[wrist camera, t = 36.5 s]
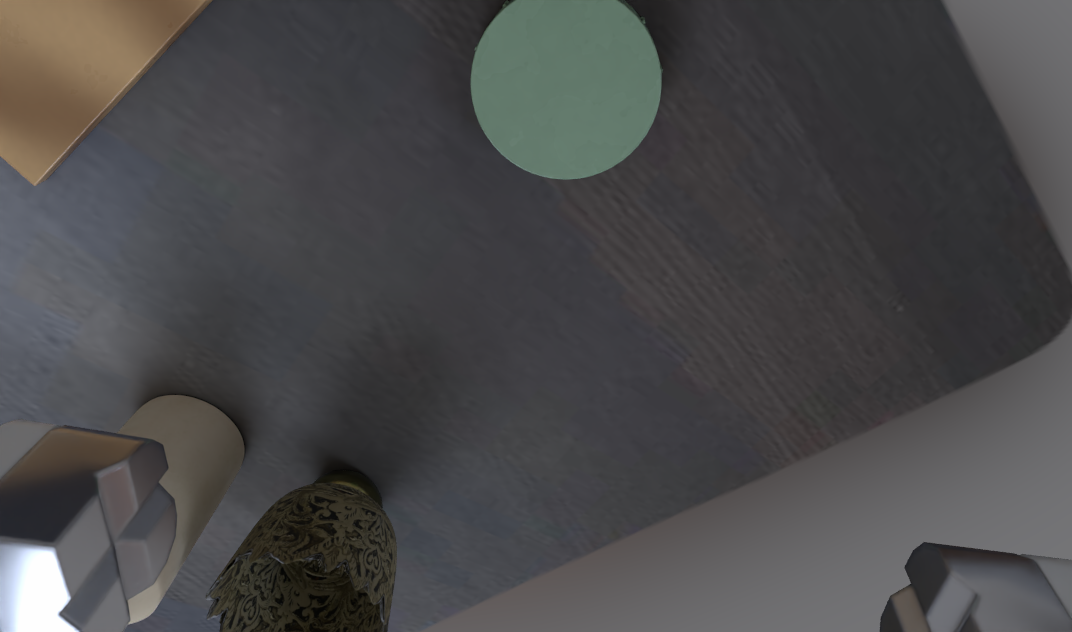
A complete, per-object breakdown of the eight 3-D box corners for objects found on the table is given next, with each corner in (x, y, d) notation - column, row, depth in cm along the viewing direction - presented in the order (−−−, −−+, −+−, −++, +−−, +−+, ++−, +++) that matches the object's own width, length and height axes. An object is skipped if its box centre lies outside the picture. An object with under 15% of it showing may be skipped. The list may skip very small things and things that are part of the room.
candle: (262, 427, 36) (159, 597, 28) (224, 498, 39) (119, 675, 30) (152, 373, 35) (7, 534, 27) (120, 450, 38) (-21, 621, 29)
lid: (471, 155, 29) (465, 168, 28) (482, -31, 26) (476, -27, 25) (641, 175, 29) (644, 189, 28) (674, -9, 26) (678, -3, 24)
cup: (366, 411, 35) (311, 539, 29) (451, 516, 38) (420, 656, 32) (245, 465, 38) (166, 597, 31) (335, 561, 41) (281, 701, 34)
